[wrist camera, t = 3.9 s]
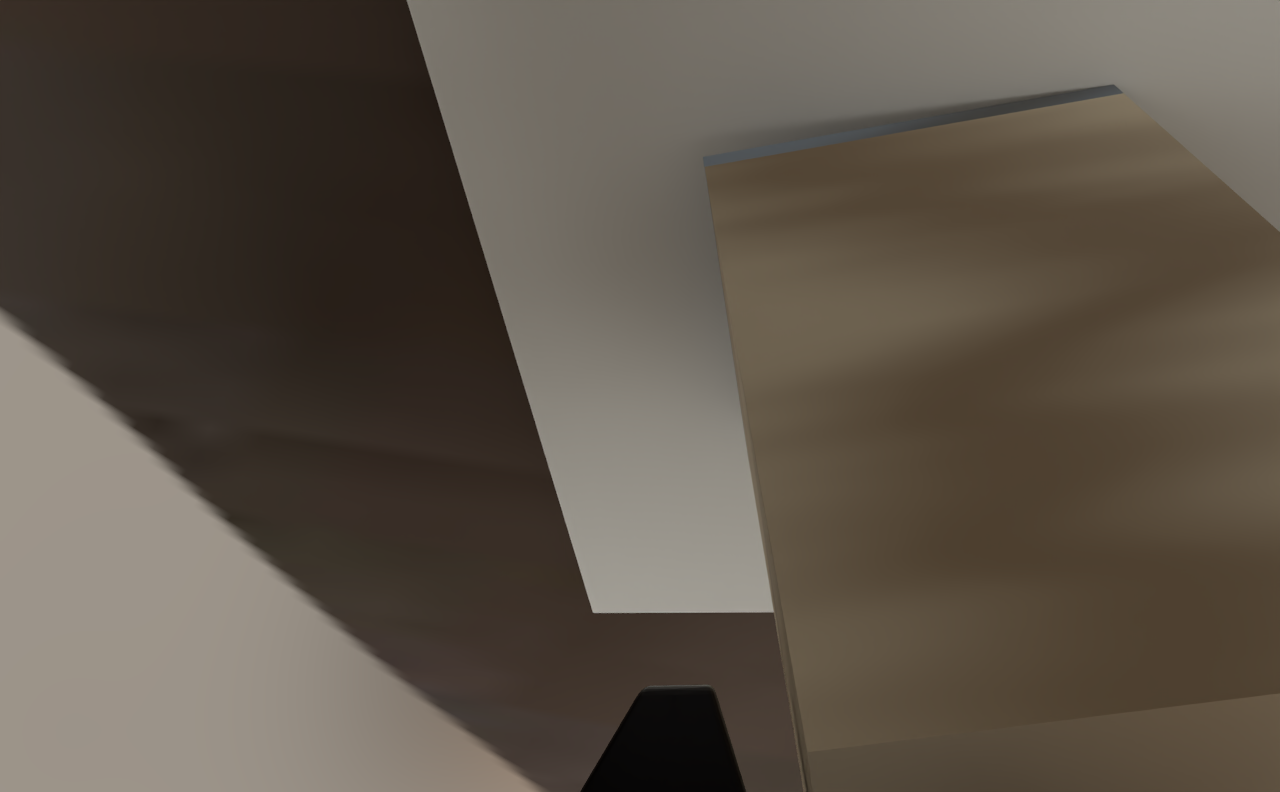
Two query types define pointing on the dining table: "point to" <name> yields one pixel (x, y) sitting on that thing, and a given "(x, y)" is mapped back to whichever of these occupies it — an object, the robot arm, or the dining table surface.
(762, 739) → the dining table surface
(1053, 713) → the birch block
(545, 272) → the grey mat
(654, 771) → the robot arm
